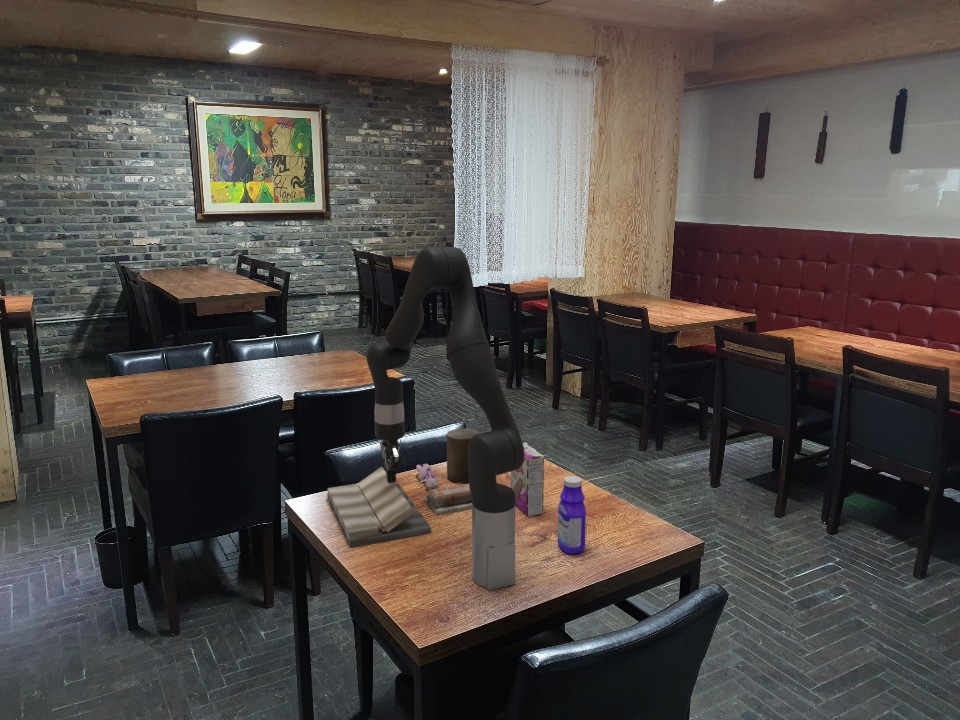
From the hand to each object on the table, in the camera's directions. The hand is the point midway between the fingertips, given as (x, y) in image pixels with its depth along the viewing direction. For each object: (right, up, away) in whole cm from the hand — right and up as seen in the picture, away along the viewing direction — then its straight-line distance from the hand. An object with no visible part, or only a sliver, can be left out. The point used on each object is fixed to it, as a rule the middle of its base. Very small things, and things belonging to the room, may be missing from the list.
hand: (391, 481), depth 181 cm
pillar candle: (+18, -3, +25) cm, 31 cm away
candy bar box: (+35, -8, +4) cm, 37 cm away
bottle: (+45, -13, -17) cm, 49 cm away
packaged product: (+18, -8, +8) cm, 21 cm away
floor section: (-4, -9, 0) cm, 10 cm away
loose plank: (-2, -5, 0) cm, 5 cm away
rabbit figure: (+8, -4, +21) cm, 23 cm away
